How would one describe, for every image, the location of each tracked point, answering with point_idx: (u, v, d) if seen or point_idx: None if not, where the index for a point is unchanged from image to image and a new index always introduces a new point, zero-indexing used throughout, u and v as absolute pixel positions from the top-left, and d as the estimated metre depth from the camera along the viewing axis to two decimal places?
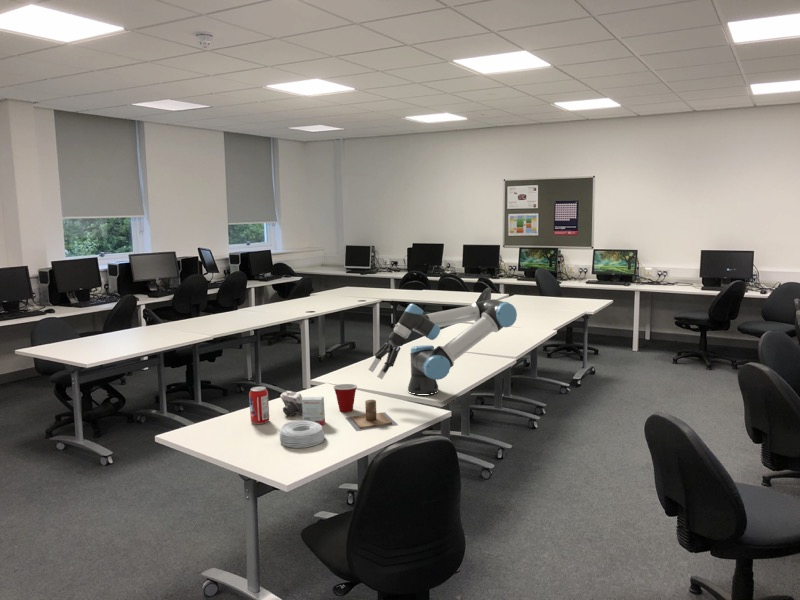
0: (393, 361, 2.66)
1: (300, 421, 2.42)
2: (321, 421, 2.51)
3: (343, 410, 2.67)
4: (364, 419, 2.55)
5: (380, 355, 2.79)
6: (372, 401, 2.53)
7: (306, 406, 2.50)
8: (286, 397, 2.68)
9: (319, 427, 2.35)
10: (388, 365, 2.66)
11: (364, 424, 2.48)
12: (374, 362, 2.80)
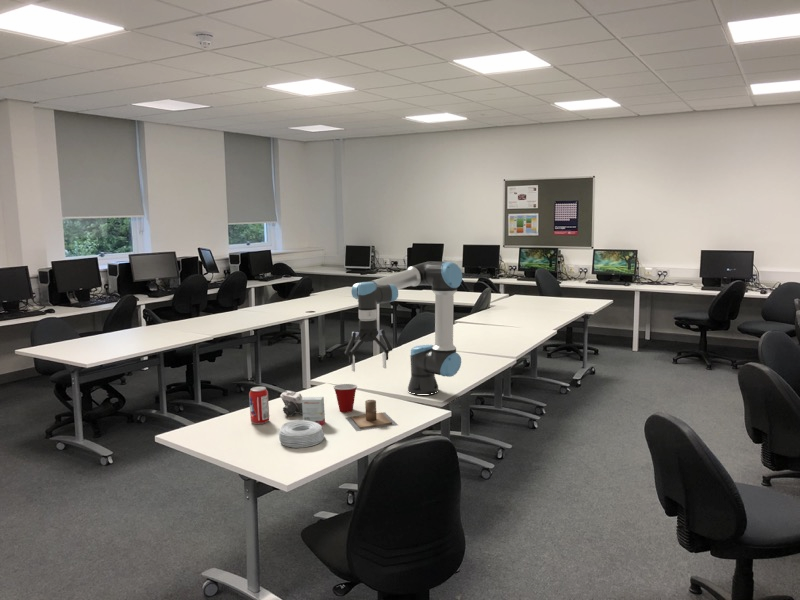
0: None
1: (299, 421, 2.42)
2: (321, 421, 2.51)
3: (343, 410, 2.67)
4: (364, 419, 2.55)
5: None
6: (372, 401, 2.53)
7: (306, 406, 2.50)
8: (286, 397, 2.68)
9: (318, 427, 2.35)
10: (388, 351, 2.53)
11: (364, 424, 2.48)
12: None
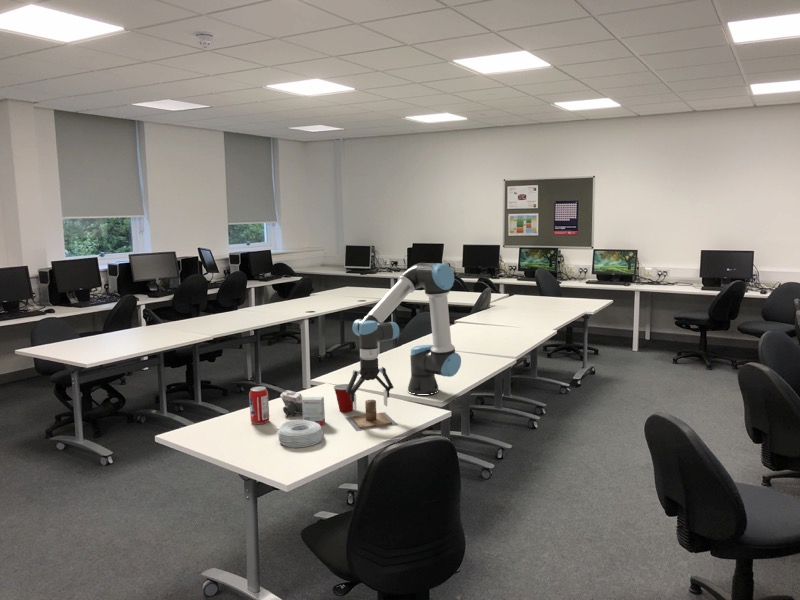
0: None
1: (299, 421, 2.42)
2: (321, 421, 2.51)
3: (343, 410, 2.67)
4: (364, 419, 2.55)
5: None
6: (372, 401, 2.53)
7: (306, 406, 2.50)
8: (286, 397, 2.68)
9: (318, 427, 2.36)
10: (389, 389, 2.55)
11: (364, 424, 2.48)
12: None
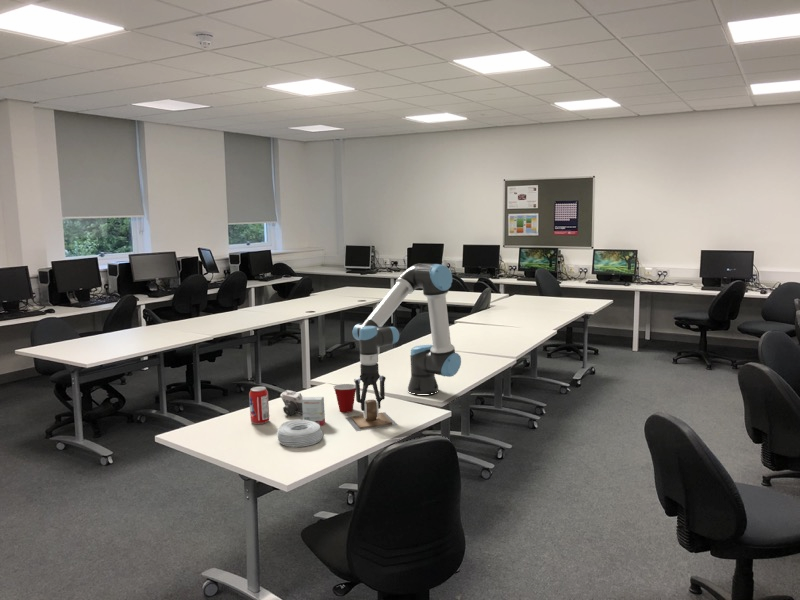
0: None
1: (298, 420, 2.43)
2: (321, 421, 2.51)
3: (343, 410, 2.67)
4: (364, 419, 2.55)
5: None
6: (372, 401, 2.53)
7: (306, 406, 2.50)
8: (286, 397, 2.68)
9: (317, 426, 2.36)
10: (380, 400, 2.55)
11: (364, 424, 2.48)
12: None
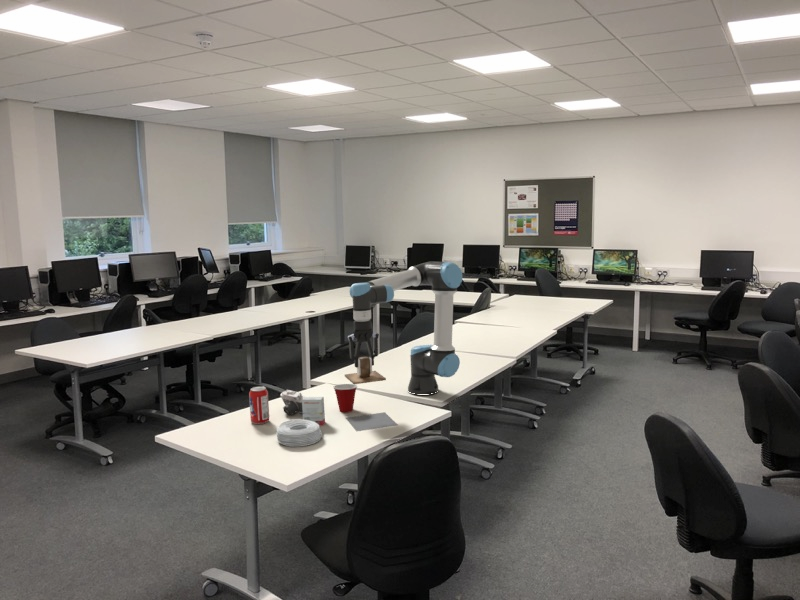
0: None
1: (297, 420, 2.43)
2: (321, 421, 2.51)
3: (343, 410, 2.67)
4: (358, 376, 2.55)
5: None
6: (366, 358, 2.54)
7: (306, 406, 2.50)
8: (286, 396, 2.69)
9: (316, 426, 2.36)
10: None
11: (358, 380, 2.49)
12: None
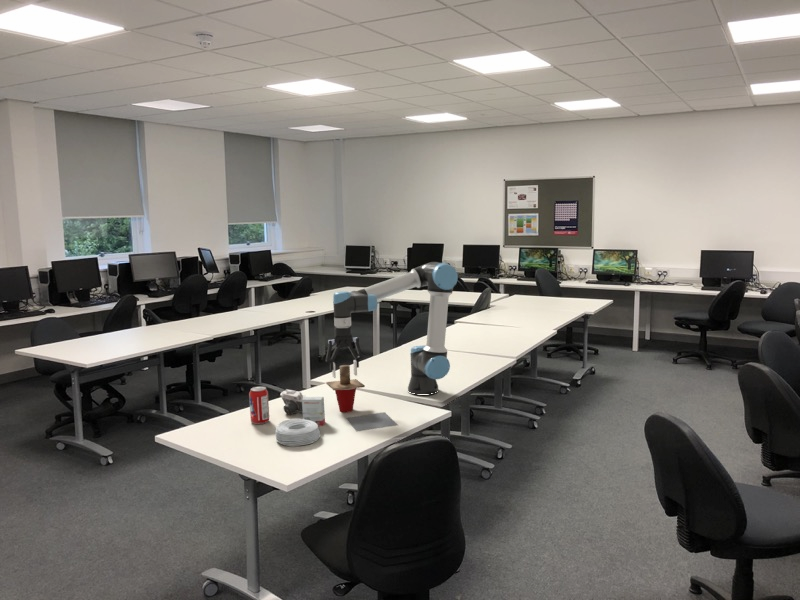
0: None
1: (296, 419, 2.44)
2: (321, 421, 2.51)
3: (343, 410, 2.67)
4: (338, 383, 2.69)
5: None
6: (346, 366, 2.68)
7: (306, 406, 2.50)
8: (286, 396, 2.70)
9: (315, 425, 2.37)
10: (359, 359, 2.69)
11: (338, 386, 2.63)
12: None
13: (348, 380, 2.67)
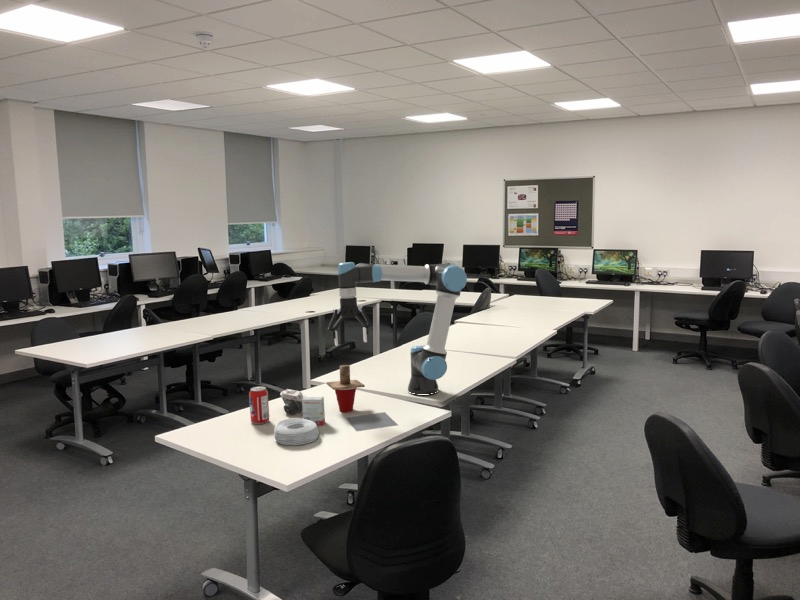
0: None
1: (295, 419, 2.44)
2: (321, 421, 2.51)
3: (343, 410, 2.67)
4: (338, 383, 2.69)
5: None
6: (346, 366, 2.68)
7: (306, 406, 2.50)
8: (286, 395, 2.70)
9: (313, 425, 2.38)
10: (368, 326, 2.73)
11: (338, 386, 2.63)
12: None
13: (348, 380, 2.67)
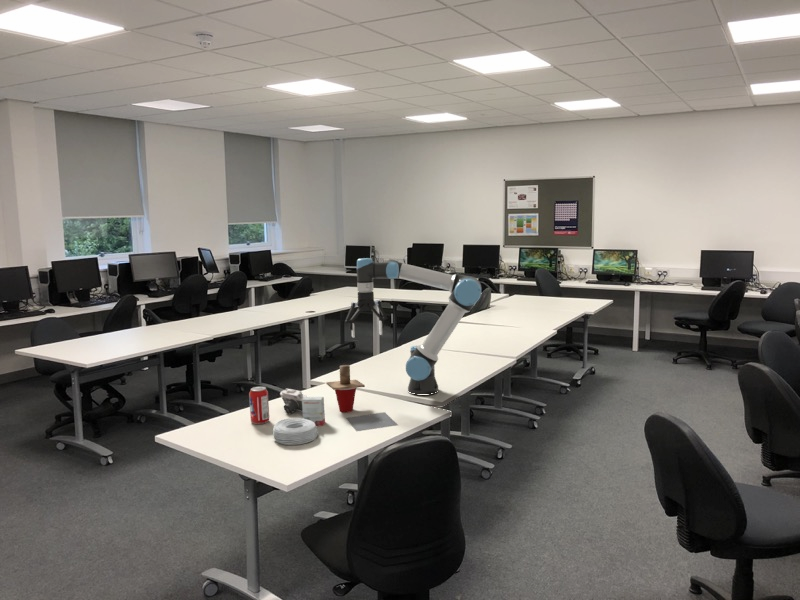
0: None
1: (294, 418, 2.45)
2: (321, 421, 2.51)
3: (343, 410, 2.67)
4: (338, 383, 2.69)
5: None
6: (346, 366, 2.68)
7: (306, 406, 2.50)
8: (286, 395, 2.71)
9: (312, 424, 2.38)
10: None
11: (338, 386, 2.63)
12: None
13: (348, 380, 2.67)
